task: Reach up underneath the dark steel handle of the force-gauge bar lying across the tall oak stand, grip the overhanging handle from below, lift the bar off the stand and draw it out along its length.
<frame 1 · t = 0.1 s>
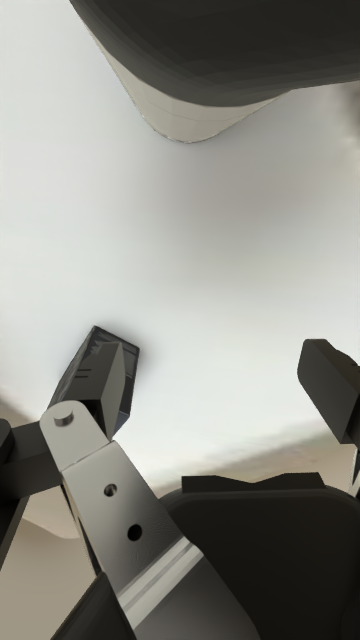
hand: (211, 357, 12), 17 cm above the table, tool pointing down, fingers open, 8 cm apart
small box: (99, 364, 34), on the table
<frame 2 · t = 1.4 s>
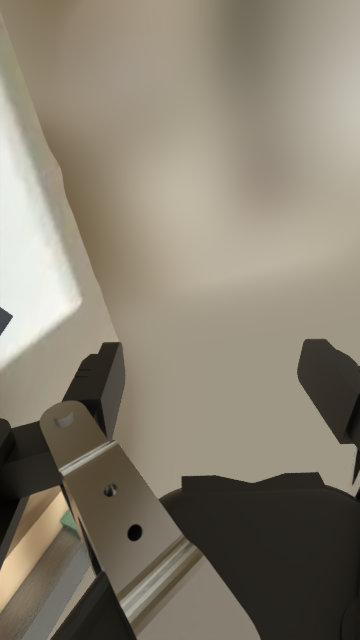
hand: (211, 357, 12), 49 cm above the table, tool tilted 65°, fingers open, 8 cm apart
gauge bar: (1, 630, 21), point 32 cm above the table, touching stand
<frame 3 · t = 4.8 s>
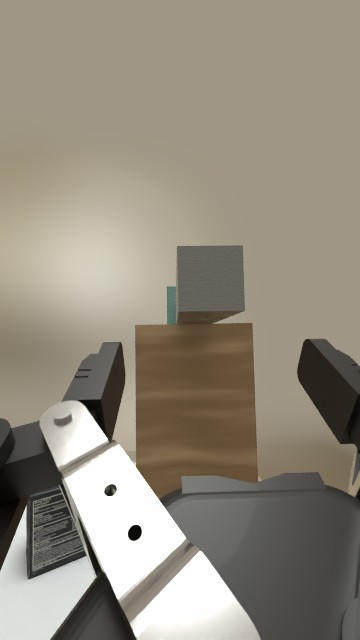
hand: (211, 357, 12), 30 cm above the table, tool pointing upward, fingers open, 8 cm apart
stand: (195, 637, 28), on the table
gauge bar: (192, 325, 25), point 32 cm above the table, touching stand
small box: (66, 549, 40), on the table
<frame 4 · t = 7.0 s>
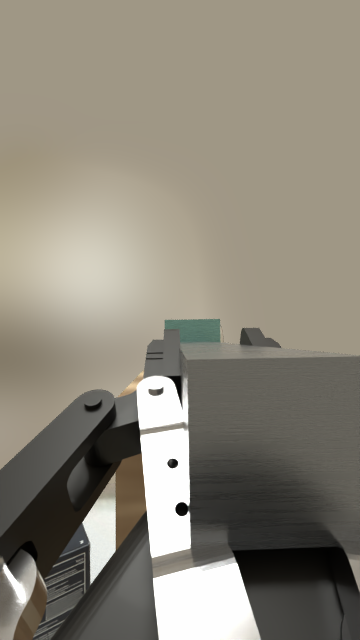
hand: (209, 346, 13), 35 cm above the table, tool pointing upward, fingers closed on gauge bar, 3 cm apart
gauge bar: (201, 390, 17), point 32 cm above the table, touching gripper, stand
small box: (40, 638, 33), on the table
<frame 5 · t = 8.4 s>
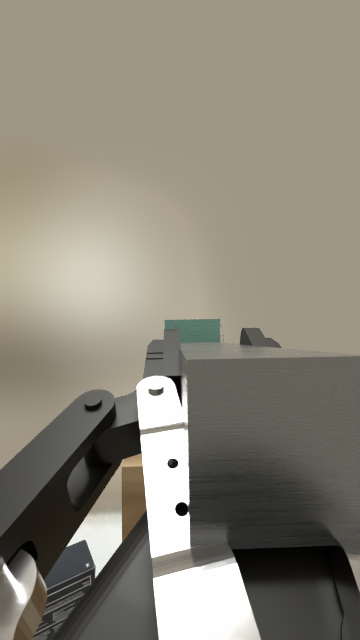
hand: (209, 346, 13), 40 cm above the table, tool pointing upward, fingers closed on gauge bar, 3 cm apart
gauge bar: (201, 390, 17), point 37 cm above the table, touching gripper
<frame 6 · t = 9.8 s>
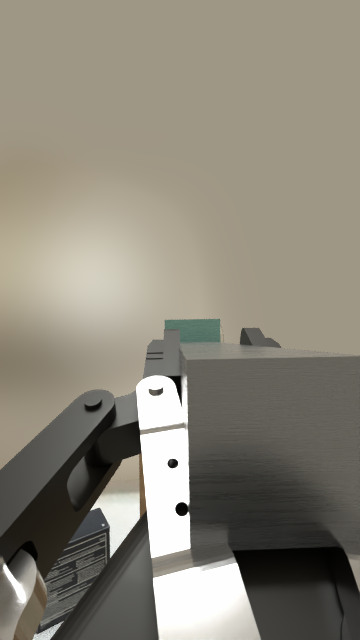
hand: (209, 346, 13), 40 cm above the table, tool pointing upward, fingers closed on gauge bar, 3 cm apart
gauge bar: (201, 390, 17), point 37 cm above the table, touching gripper
small box: (72, 598, 42), on the table
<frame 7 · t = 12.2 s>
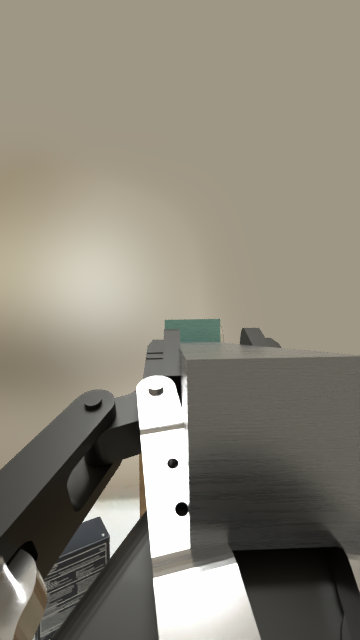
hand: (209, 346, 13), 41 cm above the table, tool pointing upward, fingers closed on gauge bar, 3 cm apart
gauge bar: (201, 390, 17), point 38 cm above the table, touching gripper
small box: (72, 608, 42), on the table
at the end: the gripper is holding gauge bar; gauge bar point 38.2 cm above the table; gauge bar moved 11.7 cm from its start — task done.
